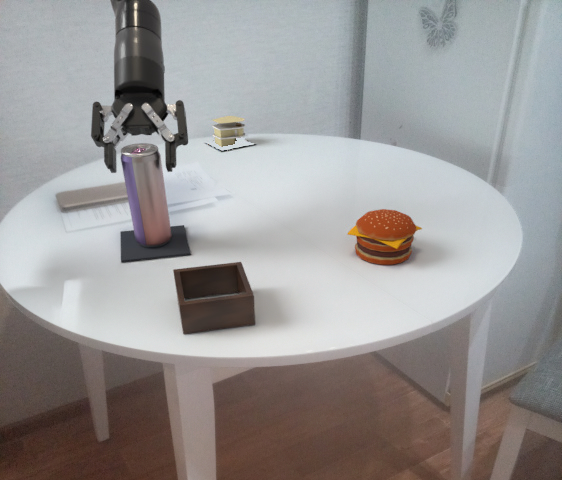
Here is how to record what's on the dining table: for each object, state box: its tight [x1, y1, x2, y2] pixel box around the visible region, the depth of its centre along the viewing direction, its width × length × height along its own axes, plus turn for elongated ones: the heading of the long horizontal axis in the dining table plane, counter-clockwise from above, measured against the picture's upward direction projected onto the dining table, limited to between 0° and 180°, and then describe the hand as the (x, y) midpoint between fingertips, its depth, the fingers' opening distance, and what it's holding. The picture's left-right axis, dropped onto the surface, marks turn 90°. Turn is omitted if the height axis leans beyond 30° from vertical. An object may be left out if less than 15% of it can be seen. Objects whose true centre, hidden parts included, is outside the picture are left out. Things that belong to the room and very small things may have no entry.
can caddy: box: [172, 261, 256, 335], centre depth 76 cm, size 10×10×4 cm
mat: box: [119, 224, 192, 263], centre depth 94 cm, size 11×11×1 cm
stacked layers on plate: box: [211, 115, 246, 153], centre depth 134 cm, size 10×9×6 cm
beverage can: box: [120, 142, 172, 248], centre depth 89 cm, size 6×6×15 cm
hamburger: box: [346, 208, 423, 266], centre depth 89 cm, size 9×10×7 cm
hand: (140, 170), depth 85 cm, fingers open, 8 cm apart
